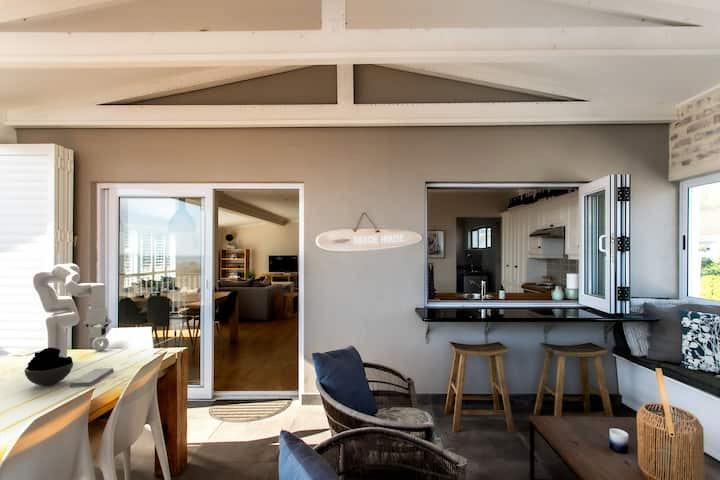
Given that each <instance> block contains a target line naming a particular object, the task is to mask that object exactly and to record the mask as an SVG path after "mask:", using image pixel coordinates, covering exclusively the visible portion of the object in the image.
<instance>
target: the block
mask: <svg viewBox="0 0 720 480" xmlns="http://www.w3.org/2000/svg"><path fill="white" fill-rule="evenodd" d="M100 337H106V333H105V334H104V335H102V325H93V327H90V328H89V329H88V338H89V339H96V338H100Z"/></svg>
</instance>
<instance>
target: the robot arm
mask: <svg viewBox="0 0 720 480" xmlns="http://www.w3.org/2000/svg"><path fill="white" fill-rule="evenodd" d="M80 271H81V270H80V267H79V266H78V265H77V264H75V263H60V264H56V265H54V266H53V267H52V268H51V269H43V270H38V271H35V272H34V273H33V276H32V278H31V283H32V286H33V288H34V289H35V291H36V292H37V295H38V296H39V299H40V300H39V301H40V302H41V305H42V308H43V309H44V312H46V313H47V314H50V315H48V316H47V317H46V320H45V326H46V331H47V348H52V347H53V348H57V349H60V354H59V357H65V358H66V357H68V334H67V331H66V330H65V329H64V328H68V327H74V326H77V325H78V324H79V322H80V313H79V311H78V308H77V307H76V302H75V301H74V299H73V298H72V297H76V298H82V297H89V299H90V300H89V301H90V302H88V303H87V306H89V307H88V308H87V312H86V319H85V320H84V321H83V322H82V323H83V325H85V326H86V327H87V329H88V330H89V328H90V327H93V326H95V325H100V326H102V335H104V334H105V335H106V333H107V327H109V325H110V324H111V323H113V321H112V320H111V319H110V318H109V314H108V309H107V306H106V290H107V289H106V284H104V283H96V282H87V283H86V282H85V283H79V282H80V279H81V276H80ZM55 283H63V284H64V288H65V291H66V292H67V293H68V294H70V295H72V297H71V296H67V295H63V296H62V295H61V296H59V295H58V293H57V291H56V289H55V288H54V287H53V286H52V285H50V284H55Z"/></svg>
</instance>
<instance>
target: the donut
mask: <svg viewBox="0 0 720 480" xmlns="http://www.w3.org/2000/svg"><path fill="white" fill-rule="evenodd" d="M99 342H102V345H98V344H99ZM109 346H110V341H109V339H108V338H107V337H106V336H103V337H100V338H93V341H92V342H91V347H92V349H93V350H95V351H97V350H99V351H97V352H102V351H104V350H107V348H108V347H109Z"/></svg>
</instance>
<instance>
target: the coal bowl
mask: <svg viewBox="0 0 720 480" xmlns="http://www.w3.org/2000/svg"><path fill="white" fill-rule="evenodd" d="M59 354H60V349H57V348H53V347H52V348H48V347H46V348H44V349H42V350H40V351H38V352H37V351H36V352H34V357H32V358H31V360H30V361H29V362H28V363H27V367H25V368H24V373H25V374H24V375H25V377H26V378H27V380H28V381H30V382H31V383H32V384H34V385H36V386H37V385H38V386H45V387H46V386H51V385H55V384H58V383H60V382H62V381H63V380H64V379H65V378H67V377H68V375H69V374H70V372H71V371H72V369H73V366H74V361H73V357H72V356H70V355H69V356H68V355H67V357H66V358H65V357H59Z"/></svg>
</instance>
